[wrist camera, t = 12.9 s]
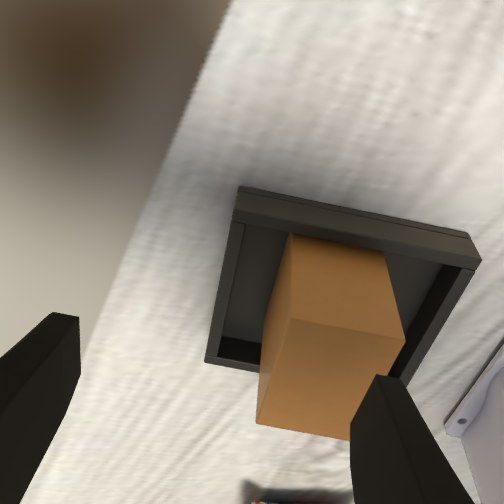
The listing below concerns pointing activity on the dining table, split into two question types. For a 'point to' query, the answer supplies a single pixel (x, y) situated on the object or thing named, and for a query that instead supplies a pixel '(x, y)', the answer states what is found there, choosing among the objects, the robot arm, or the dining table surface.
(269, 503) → the packaged food
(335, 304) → the packet
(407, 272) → the tray
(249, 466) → the dining table surface
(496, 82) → the dining table surface
